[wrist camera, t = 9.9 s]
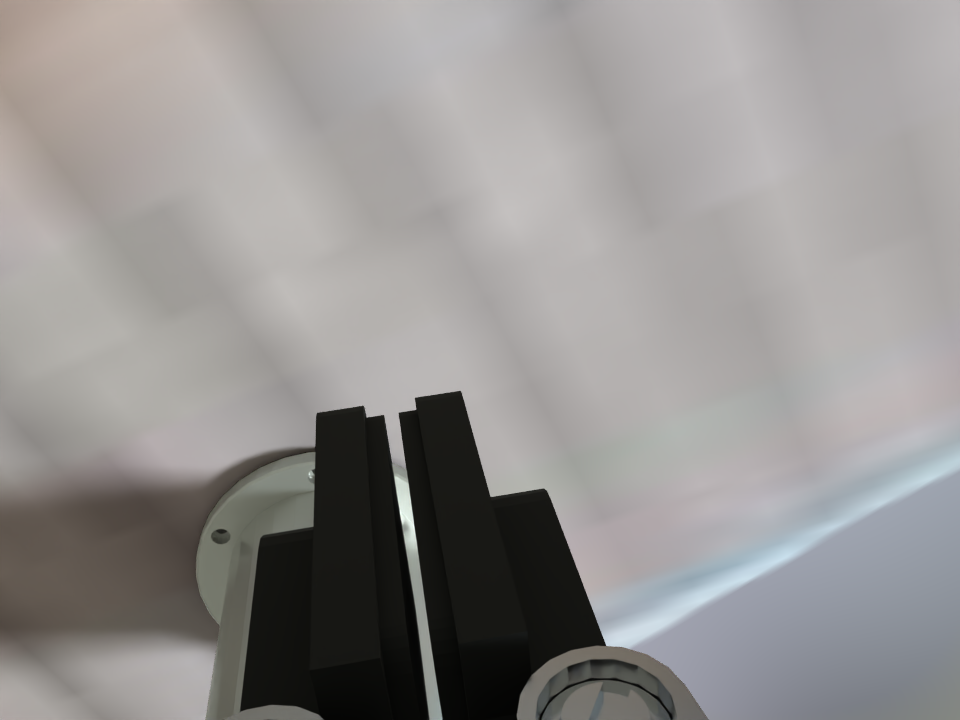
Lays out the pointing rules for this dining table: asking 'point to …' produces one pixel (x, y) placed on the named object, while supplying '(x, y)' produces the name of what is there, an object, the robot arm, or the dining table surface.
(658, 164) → the dining table surface
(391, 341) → the dining table surface
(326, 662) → the robot arm
